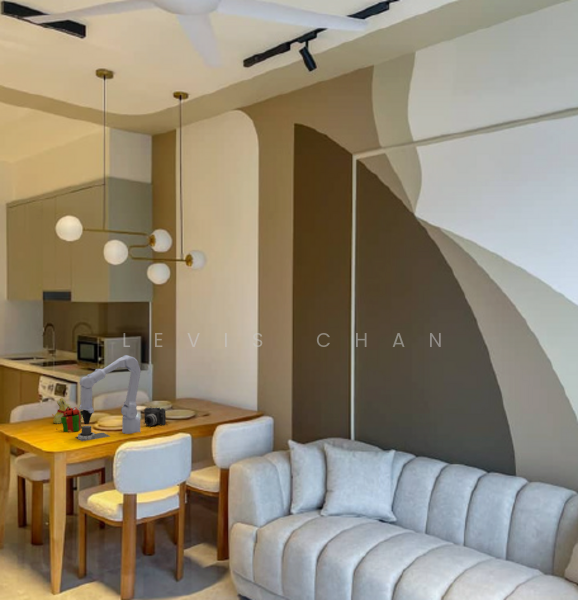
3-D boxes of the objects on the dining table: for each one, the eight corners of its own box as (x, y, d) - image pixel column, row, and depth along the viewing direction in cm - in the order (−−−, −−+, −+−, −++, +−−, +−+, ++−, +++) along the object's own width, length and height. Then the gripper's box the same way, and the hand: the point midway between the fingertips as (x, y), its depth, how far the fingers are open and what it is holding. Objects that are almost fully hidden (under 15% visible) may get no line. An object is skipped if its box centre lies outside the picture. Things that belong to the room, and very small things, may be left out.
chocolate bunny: (73, 421, 359) (73, 397, 358) (55, 424, 351) (55, 399, 350) (67, 419, 364) (67, 395, 363) (50, 422, 356) (50, 397, 355)
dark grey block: (89, 436, 323) (89, 425, 323) (92, 437, 320) (92, 426, 319) (80, 437, 320) (80, 426, 320) (83, 439, 316) (83, 428, 316)
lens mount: (103, 434, 331) (103, 428, 331) (110, 438, 324) (110, 432, 323) (74, 438, 321) (74, 433, 321) (81, 443, 313) (81, 437, 313)
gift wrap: (60, 431, 342) (57, 407, 343) (93, 427, 344) (90, 403, 344) (49, 439, 322) (46, 412, 323) (84, 434, 324) (81, 408, 324)
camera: (136, 425, 352) (136, 409, 352) (147, 421, 362) (147, 405, 362) (156, 428, 347) (157, 411, 347) (167, 424, 357) (167, 407, 357)
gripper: (74, 397, 322) (74, 422, 322) (84, 402, 311) (84, 427, 311) (86, 396, 327) (86, 420, 327) (97, 400, 316) (97, 425, 316)
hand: (86, 423), depth 320 cm, fingers closed
